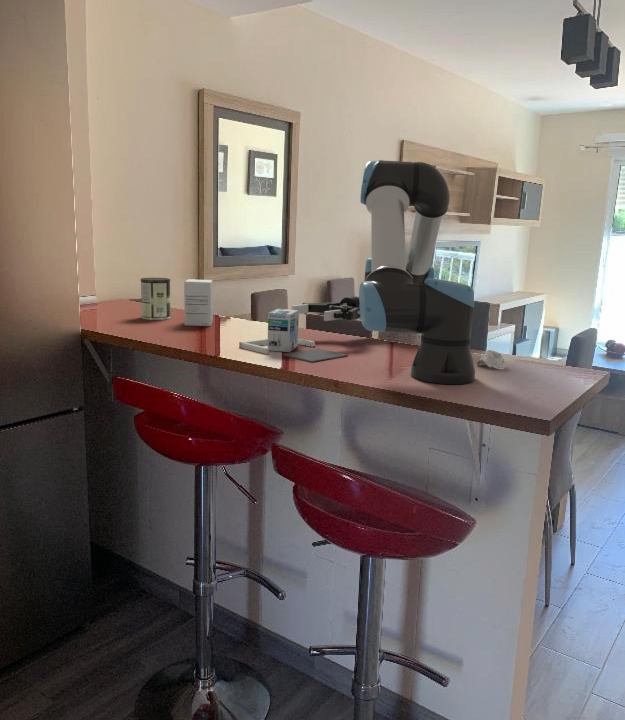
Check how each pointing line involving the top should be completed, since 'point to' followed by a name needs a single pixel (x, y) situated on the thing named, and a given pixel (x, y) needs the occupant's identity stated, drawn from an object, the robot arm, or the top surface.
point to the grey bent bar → (255, 343)
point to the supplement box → (198, 302)
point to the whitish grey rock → (492, 360)
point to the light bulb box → (283, 330)
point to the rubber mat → (314, 355)
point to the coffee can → (155, 298)
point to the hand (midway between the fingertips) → (308, 313)
